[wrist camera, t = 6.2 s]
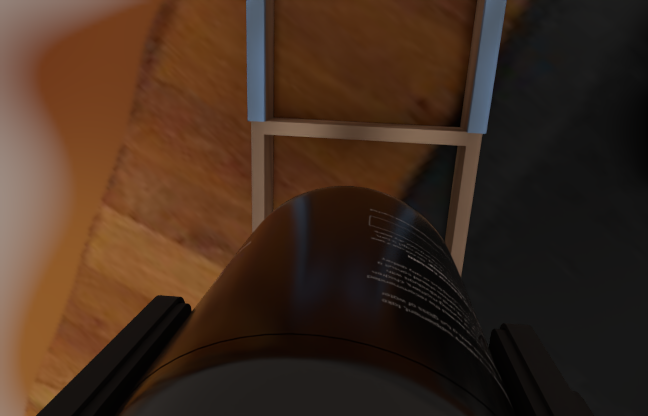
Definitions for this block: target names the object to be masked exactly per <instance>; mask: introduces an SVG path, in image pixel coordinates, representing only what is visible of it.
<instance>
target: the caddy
mask: <svg viewBox="0 0 648 416" xmlns="http://www.w3.org/2000/svg"><path fill="white" fill-rule="evenodd" d="M505 7H506V0H477V5H476V12H475V20H474V27H473V35H472V42H471V50H470V57H469V65H468V72H467V79H466V87H465V94H464V102H463V109H462V117H461V124H460V127H445V126H426V125H408V124H389V123H370V122H351V121H332V120H313V119H294V118H275V117H274V0H246V23H247V104H248V121H251V150H252V233H253V232H254V231H255V230H256V228H257V227H258V226H259V225H260V223H261V222H262V221H263V220H264V219H265V218H266V217H267V216H268V215H269V214H270V213H272V212H273V135H283V136H301V137H318V138H336V139H353V140H371V141H388V142H406V143H423V144H441V145H458V147H457V154H456V161H455V169H454V176H453V184H452V191H451V199H450V206H449V214H448V221H447V228H446V236H445V244H446V246H447V248H448V249H449V251H450V253H451V256H452V258H453V260H454V263H455V265H456V267H457V269H458V272H459V274H460V277H461V273H462V266H463V260H464V253H465V246H466V240H467V233H468V227H469V220H470V213H471V207H472V200H473V193H474V187H475V180H476V173H477V167H478V160H479V153H480V147H481V140H482V134H486V131H487V125H488V118H489V112H490V105H491V98H492V92H493V85H494V79H495V72H496V66H497V59H498V53H499V46H500V40H501V33H502V27H503V20H504V13H505Z"/></svg>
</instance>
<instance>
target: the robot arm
mask: <svg viewBox="0 0 648 416" xmlns="http://www.w3.org/2000/svg"><path fill="white" fill-rule="evenodd" d="M191 312H192V311H191V306H190V305H189V304H186V303H185V301H184V299H183V298H182V297H175V296H162V295H158V296H156V297H155V298H154V299H153V300H152V301H151V302H150V303H149V304H148V305H147V306H146V307H145V308H144V309H143V310H142V311H141V312H140V313H139V314H138V315H137V316H136V317H135V318H134V319H133V320H132V321H131V322H130V323H129V324H128V325H127V326H126V327H125V328H124V329H123V330H122V331H121V332H120V333H119V334H118V335H117V336H116V337H115V338H114V339H113V340H112V341H111V342H110V343H109V344H108V345H107V346H106V347H105V348H104V349H103V350H102V351H101V352H100V353H99V354H98V355H97V356H96V357H95V358H94V359H93V360H92V361H91V362H90V363H89V364H88V365H87V366H86V367H85V368H84V369H83V370H82V371H81V372H80V373H79V374H78V375H77V376H76V377H75V378H74V379H73V380H72V381H70V382H69V383H68V384H67V385H66V386H65V387H64V388H63V389H62V390H61V391H60V392H59V393H58V394H57V395H56V396H55V397H54V398H53V399H52V400H51V401H50V402H49V403H48V404H47V405H46V406H45V407H44V408H43V409H42V410H41V411H40V412H39V413H38V414H37V415H36V416H114V414H115V413H116V411H117V410H118V408H119V407H120V405H121V404H122V402H123V401H124V400H125V398H126V397H127V396H128V394H129V393H130V392H131V390H132V389H133V388H134V386H135V385H136V384H137V383H138V381H139V380H140V379H141V377H142V376H143V375H144V373H145V372H146V371H147V369H148V368H149V367H150V366H151V364H152V363H153V362H154V360H155V359H156V358H157V356H158V355H159V354H160V352H161V351H162V350H163V349H164V347H165V346H166V345H167V343H168V342H169V341H170V339H171V338H172V337H173V336H174V334H175V333H176V332H177V330H178V329H179V328H180V326H181V325H182V324H183V323H184V321H185V320H186V319H187V317H188V316H189V315H190V313H191ZM489 350H490V352H491V355H492V357H493V360H494V362H495V365H496V367H497V370H498V372H499V375H500V377H501V380H502V382H503V385H504V387H505V390H506V392H507V395H508V397H509V400H510V402H511V405H512V407H513V410H514V412H515V415H516V416H594V415H593V413H592V412H591V410H590V409H589V407H588V406H587V404H586V402H585V401H584V399H583V398H582V397H581V396H580V395H579V393H577V392H575V391H571V389H570V388H569V386H568V384H567V383H566V381H565V380H564V378H563V376H562V375H561V373H560V372H559V370H558V368H557V367H556V365H555V364H554V362H553V360H552V359H551V357H550V356H549V354H548V352H547V351H546V349H545V347H544V346H543V344H542V343H541V341H540V339H539V338H538V336H537V335H536V333H535V331H534V330H533V328H532V327H531V326H529V325H519V324H507V323H503V324H502V325H501V327H500V329H493V330H492V332H491V337H490V344H489Z"/></svg>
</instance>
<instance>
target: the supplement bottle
mask: <svg viewBox="0 0 648 416" xmlns="http://www.w3.org/2000/svg"><path fill="white" fill-rule="evenodd" d="M114 416H516V415H515V412H514V410H513V407H512V405H511V402H510V400H509V397H508V395H507V392H506V390H505V387H504V385H503V382H502V380H501V377H500V375H499V372H498V370H497V367H496V365H495V362H494V360H493V357H492V355H491V352H490V350H489V347H488V345H487V342H486V340H485V337H484V334H483V332H482V329H481V327H480V324H479V322H478V319H477V317H476V314H475V312H474V309H473V307H472V304H471V302H470V299H469V297H468V294H467V292H466V289H465V287H464V284H463V282H462V279H461V277H460V274H459V272H458V269H457V267H456V265H455V263H454V260H453V258H452V256H451V253H450V251H449V249H448V248H447V246H446V244H445V242H444V241H443V239H442V238H441V236H440V234H439V233H438V232H437V230H436V229H435V228H434V227H433V225H432V224H431V223H430V222H429V221H428V220H427V219H426V218H425V217H424V216H423V215H421V214H420V213H419V212H418V211H417V210H415V209H414V208H412V207H411V206H409V205H408V204H406V203H405V202H403V201H401V200H399V199H397V198H395V197H393V196H391V195H388V194H386V193H383V192H380V191H376V190H372V189H368V188H363V187H354V186H335V187H326V188H320V189H316V190H312V191H309V192H306V193H303V194H301V195H298V196H296V197H294V198H292V199H290V200H288V201H287V202H285V203H284V204H282V205H280V206H279V207H278V208H277V209H275V210H274V211H273V212H272V213H270V214H269V215H268V216H267V217H266V218H265V219H264V220H263V221H262V222H261V223H260V225H259V226H258V227H257V228H256V230H255V231H254V232H253V233H252V234H251V235H250V237H249V238H248V239H247V240H246V242H245V243H244V244H243V246H242V247H241V248H240V250H239V251H238V252H237V253H236V255H235V256H234V257H233V259H232V260H231V261H230V263H229V264H228V265H227V266H226V268H225V269H224V270H223V272H222V273H221V274H220V276H219V277H218V278H217V280H216V281H215V282H214V283H213V285H212V286H211V287H210V289H209V290H208V291H207V293H206V294H205V295H204V296H203V298H202V299H201V300H200V302H199V303H198V304H197V306H196V307H195V308H194V309H193V311H192V312H191V313H190V315H189V316H188V317H187V319H186V320H185V321H184V323H183V324H182V325H181V326H180V328H179V329H178V330H177V332H176V333H175V334H174V336H173V337H172V338H171V339H170V341H169V342H168V343H167V345H166V346H165V347H164V349H163V350H162V351H161V352H160V354H159V355H158V356H157V358H156V359H155V360H154V362H153V363H152V364H151V366H150V367H149V368H148V369H147V371H146V372H145V373H144V375H143V376H142V377H141V379H140V380H139V381H138V383H137V384H136V385H135V386H134V388H133V389H132V390H131V392H130V393H129V394H128V396H127V397H126V398H125V400H124V401H123V402H122V404H121V405H120V407H119V408H118V410H117V411H116V413H115V414H114Z"/></svg>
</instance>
